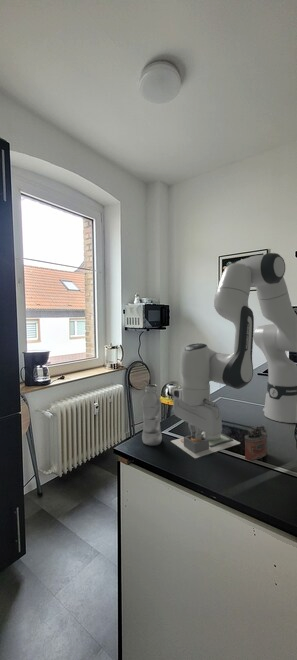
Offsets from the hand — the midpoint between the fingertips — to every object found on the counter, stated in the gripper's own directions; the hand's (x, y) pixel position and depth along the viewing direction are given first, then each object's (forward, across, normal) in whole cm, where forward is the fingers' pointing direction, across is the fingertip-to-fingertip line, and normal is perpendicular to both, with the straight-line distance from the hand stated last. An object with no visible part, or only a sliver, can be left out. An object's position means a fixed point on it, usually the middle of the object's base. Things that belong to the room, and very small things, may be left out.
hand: (195, 438), depth 86 cm
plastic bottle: (+4, +11, +10) cm, 15 cm away
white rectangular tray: (+4, +2, -5) cm, 7 cm away
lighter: (+4, -13, -12) cm, 18 cm away
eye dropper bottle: (+3, +2, -9) cm, 10 cm away
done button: (+2, 0, 0) cm, 2 cm away
